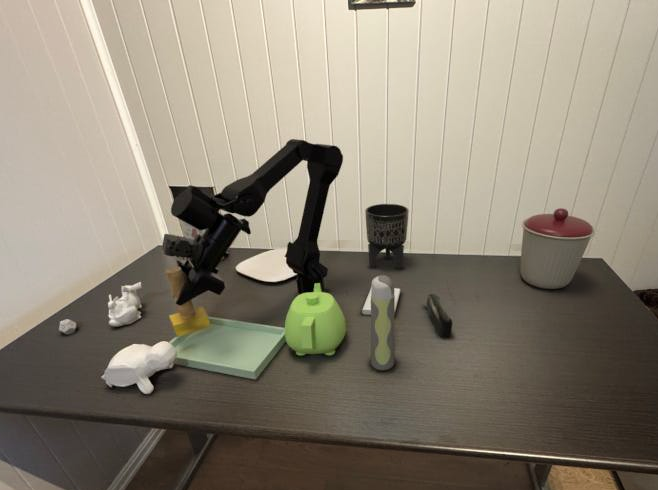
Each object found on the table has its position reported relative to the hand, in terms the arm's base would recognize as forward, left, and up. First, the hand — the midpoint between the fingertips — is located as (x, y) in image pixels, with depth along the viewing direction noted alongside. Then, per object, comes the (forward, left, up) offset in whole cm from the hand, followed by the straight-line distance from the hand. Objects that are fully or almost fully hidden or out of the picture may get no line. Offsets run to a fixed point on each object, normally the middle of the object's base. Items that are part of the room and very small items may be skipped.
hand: (176, 301), depth 79 cm
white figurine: (+22, -6, -12) cm, 26 cm away
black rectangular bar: (-53, -24, -12) cm, 59 cm away
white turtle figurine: (+1, +12, -12) cm, 17 cm away
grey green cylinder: (-44, -4, -12) cm, 46 cm away
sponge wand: (-1, -1, -7) cm, 7 cm away
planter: (-33, -53, -12) cm, 64 cm away
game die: (+32, +3, -12) cm, 34 cm away
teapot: (-28, -8, -12) cm, 31 cm away
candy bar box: (+27, -44, -12) cm, 53 cm away
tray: (-9, -1, -11) cm, 14 cm away
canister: (-80, -52, -12) cm, 96 cm away
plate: (0, -42, -12) cm, 44 cm away
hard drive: (-38, -29, -12) cm, 49 cm away
